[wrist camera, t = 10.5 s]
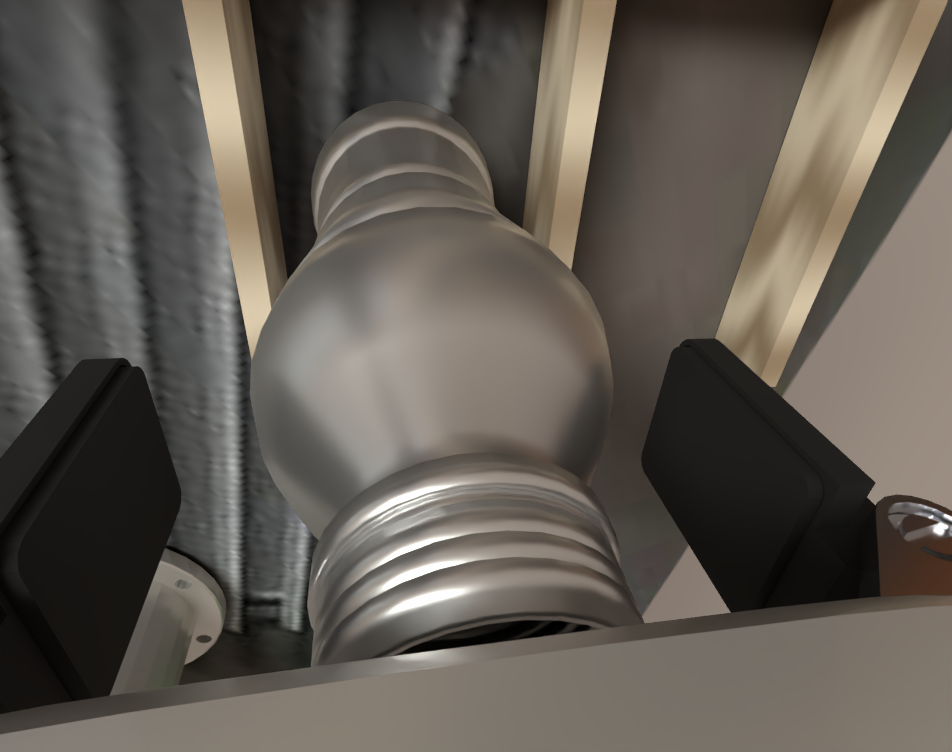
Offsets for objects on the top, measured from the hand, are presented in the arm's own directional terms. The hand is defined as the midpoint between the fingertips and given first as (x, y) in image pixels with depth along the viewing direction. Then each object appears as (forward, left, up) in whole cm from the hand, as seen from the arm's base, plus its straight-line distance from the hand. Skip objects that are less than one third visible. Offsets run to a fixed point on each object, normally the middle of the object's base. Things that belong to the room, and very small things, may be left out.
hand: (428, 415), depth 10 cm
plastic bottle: (0, 0, -15) cm, 15 cm away
